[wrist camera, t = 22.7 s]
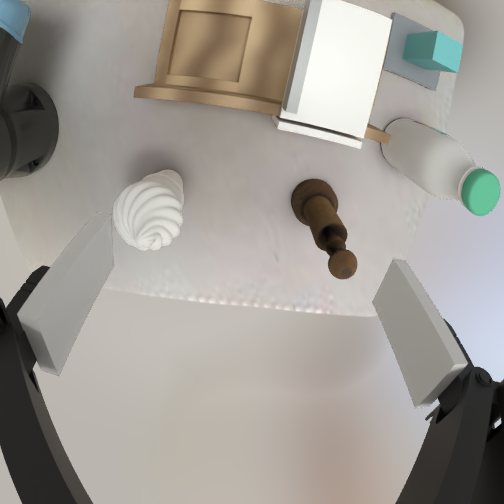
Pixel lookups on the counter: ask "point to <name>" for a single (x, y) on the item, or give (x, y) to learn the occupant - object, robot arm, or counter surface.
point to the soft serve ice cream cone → (150, 210)
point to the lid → (334, 71)
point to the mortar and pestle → (324, 224)
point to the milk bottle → (440, 165)
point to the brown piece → (230, 56)
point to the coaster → (396, 50)
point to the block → (433, 51)
